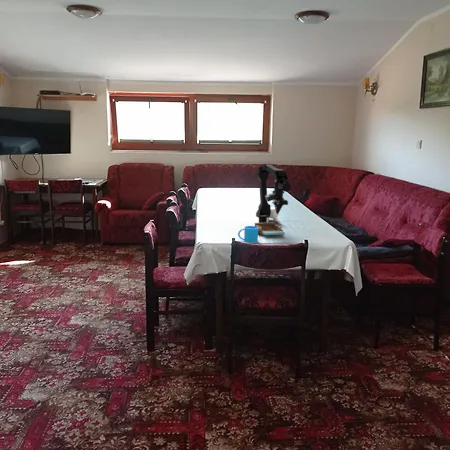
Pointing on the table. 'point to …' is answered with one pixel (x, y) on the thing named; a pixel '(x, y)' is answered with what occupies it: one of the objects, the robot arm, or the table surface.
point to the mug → (250, 234)
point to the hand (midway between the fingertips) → (277, 213)
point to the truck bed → (267, 227)
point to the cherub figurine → (274, 215)
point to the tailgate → (272, 232)
